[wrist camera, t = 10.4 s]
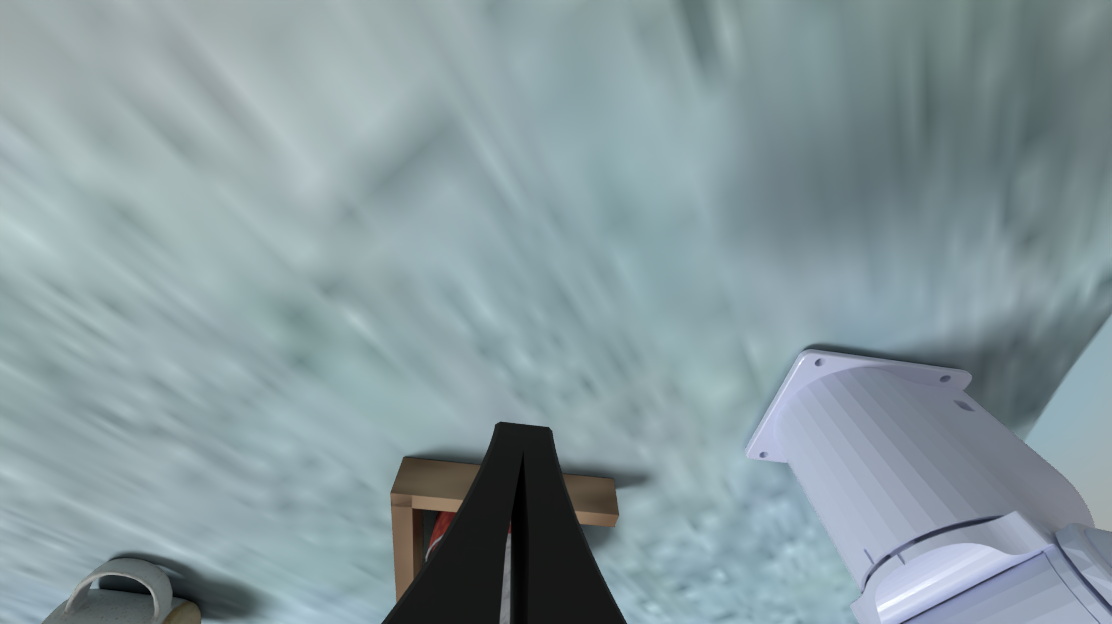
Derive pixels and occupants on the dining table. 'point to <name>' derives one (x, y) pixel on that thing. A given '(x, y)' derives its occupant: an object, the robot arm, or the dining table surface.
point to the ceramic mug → (126, 599)
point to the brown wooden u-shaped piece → (446, 491)
